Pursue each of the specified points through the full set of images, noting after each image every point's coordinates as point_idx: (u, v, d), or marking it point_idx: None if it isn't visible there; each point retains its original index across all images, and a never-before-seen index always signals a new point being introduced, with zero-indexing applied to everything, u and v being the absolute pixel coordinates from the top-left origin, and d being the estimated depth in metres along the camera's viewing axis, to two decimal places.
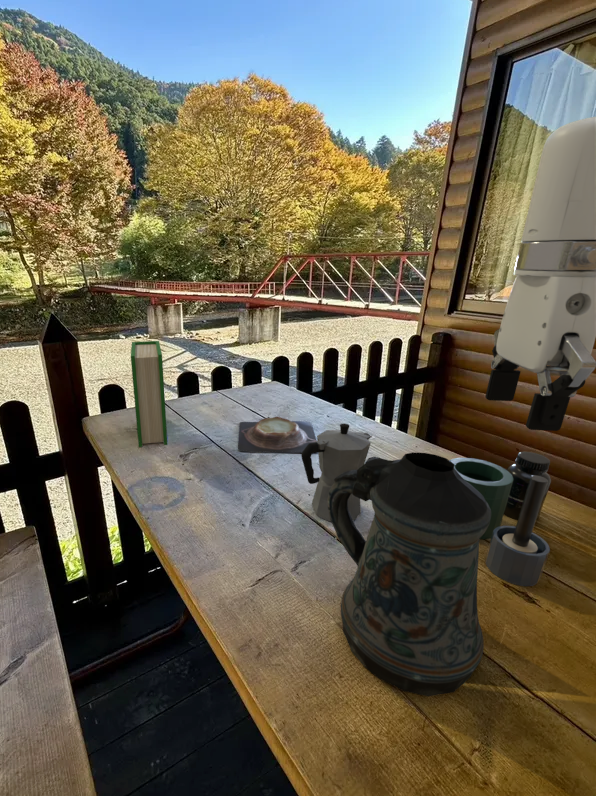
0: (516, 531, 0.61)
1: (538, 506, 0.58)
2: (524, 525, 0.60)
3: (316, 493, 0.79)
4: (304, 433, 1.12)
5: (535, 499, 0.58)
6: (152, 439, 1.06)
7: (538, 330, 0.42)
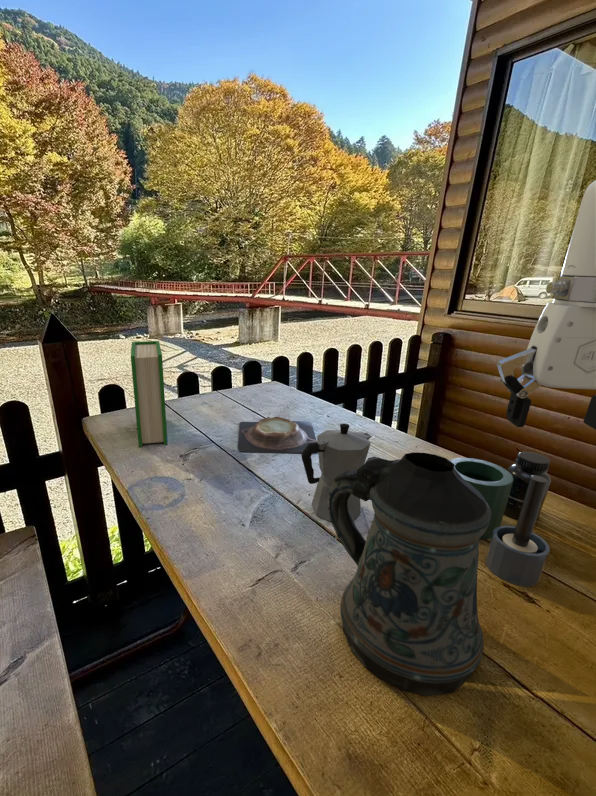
0: (516, 531, 0.61)
1: (538, 506, 0.58)
2: (524, 525, 0.60)
3: (316, 493, 0.79)
4: (304, 433, 1.12)
5: (535, 499, 0.58)
6: (152, 439, 1.06)
7: None
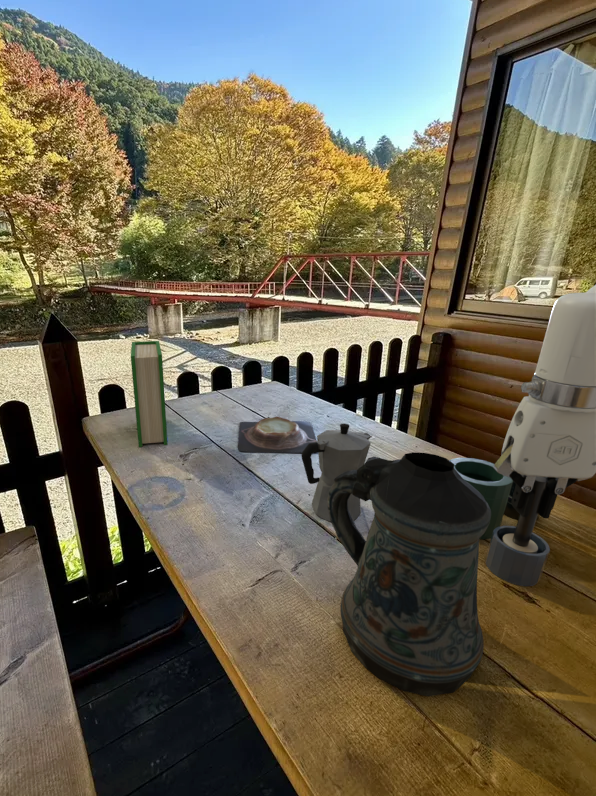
0: (516, 531, 0.61)
1: (538, 506, 0.58)
2: (525, 525, 0.60)
3: (316, 493, 0.79)
4: (304, 433, 1.12)
5: (535, 499, 0.58)
6: (152, 439, 1.06)
7: None
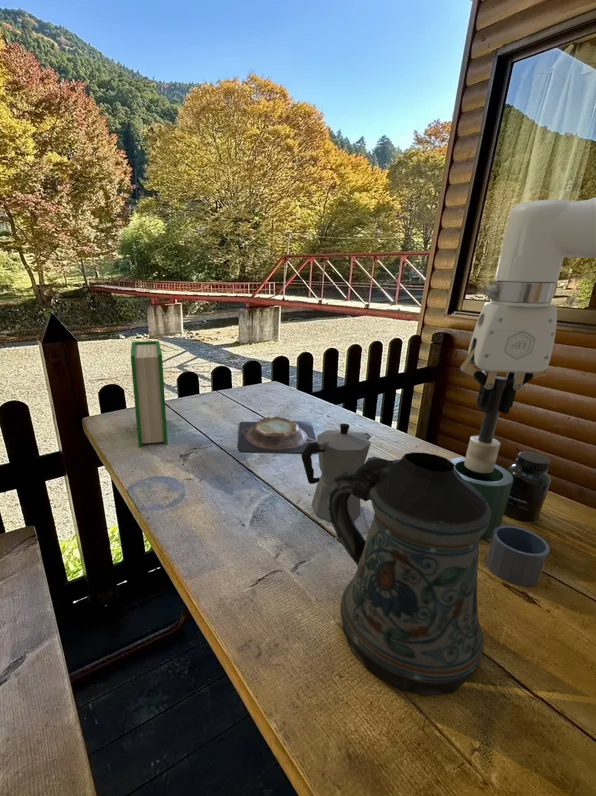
0: (481, 429, 0.68)
1: (499, 403, 0.66)
2: (488, 422, 0.67)
3: (316, 493, 0.79)
4: (304, 433, 1.12)
5: (497, 396, 0.65)
6: (152, 439, 1.06)
7: None
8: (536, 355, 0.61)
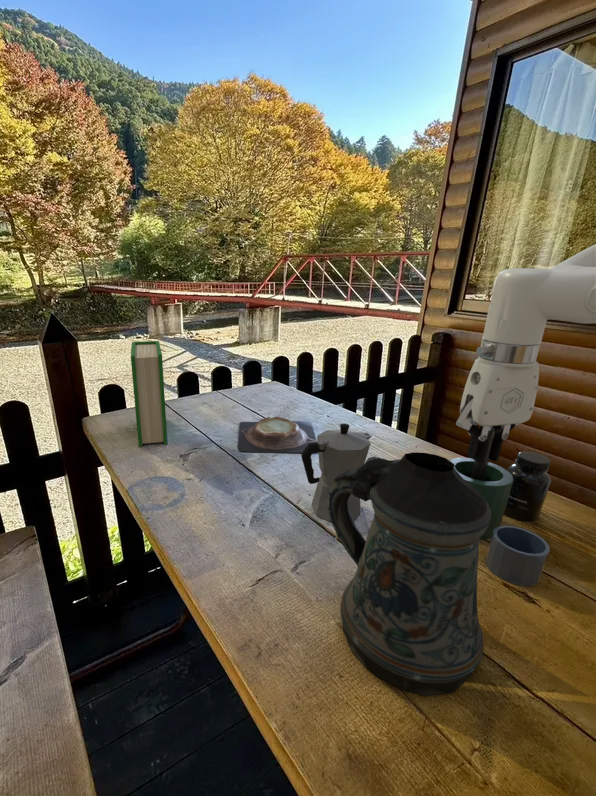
0: (473, 476, 0.71)
1: (490, 451, 0.69)
2: (480, 470, 0.70)
3: (316, 493, 0.79)
4: (304, 433, 1.12)
5: (488, 446, 0.68)
6: (152, 439, 1.06)
7: None
8: (524, 408, 0.65)
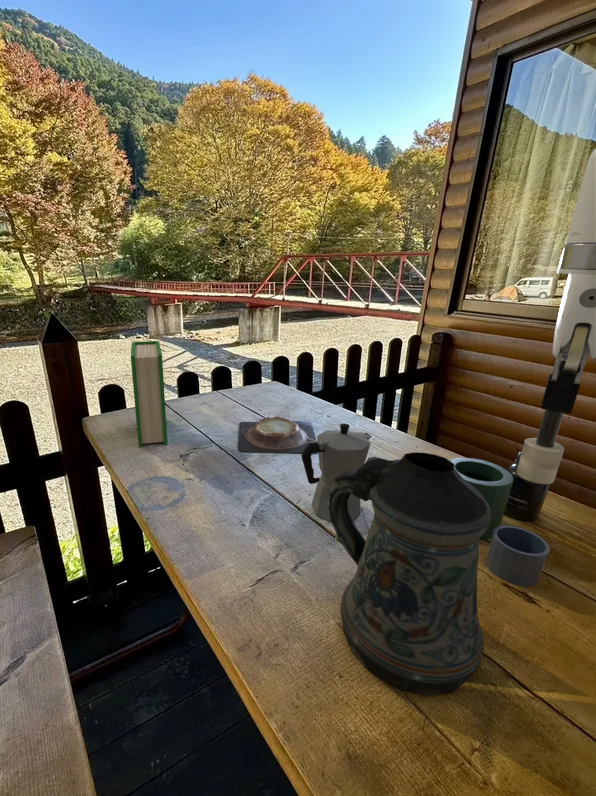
0: (549, 433, 0.55)
1: None
2: (559, 422, 0.54)
3: (316, 493, 0.79)
4: (304, 433, 1.12)
5: None
6: (152, 439, 1.06)
7: (559, 320, 0.49)
8: None
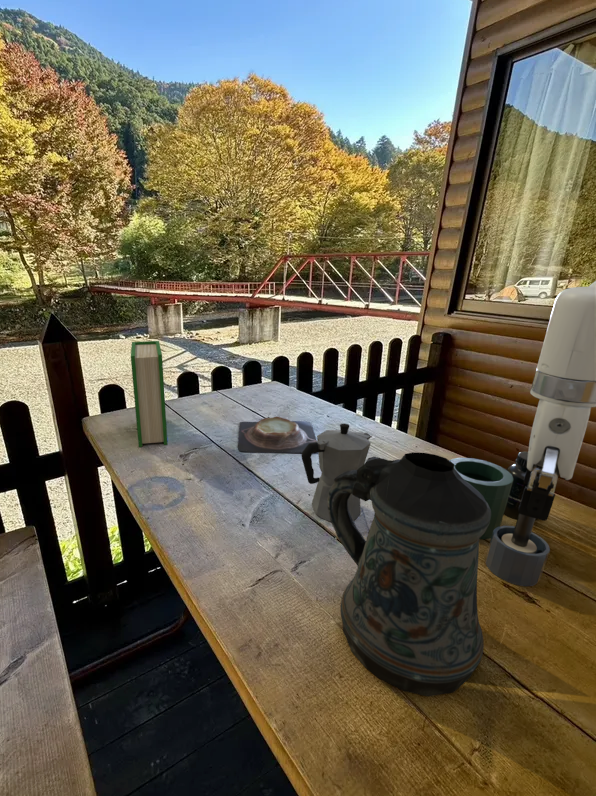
0: (522, 535, 0.60)
1: None
2: (531, 526, 0.59)
3: (316, 493, 0.79)
4: (304, 433, 1.12)
5: None
6: (152, 439, 1.06)
7: (532, 439, 0.54)
8: None
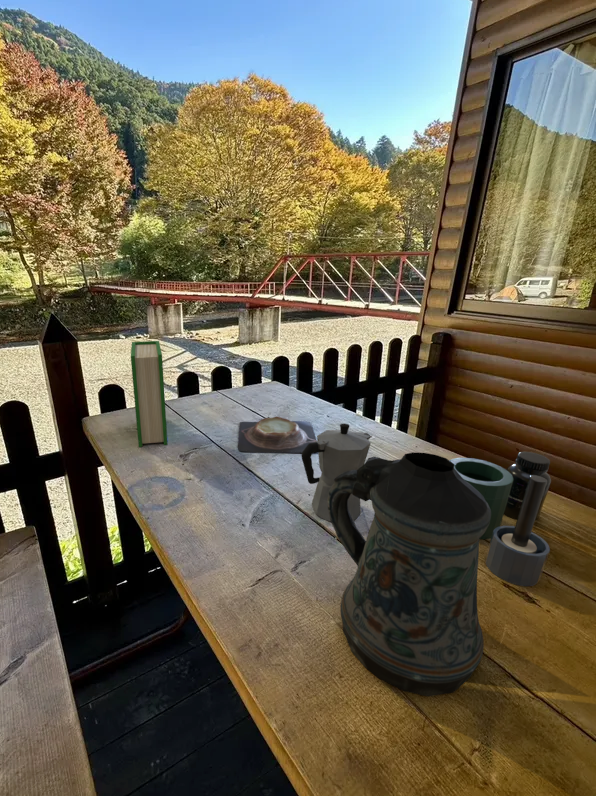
0: (522, 535, 0.60)
1: None
2: (531, 526, 0.59)
3: (316, 493, 0.79)
4: (304, 433, 1.12)
5: (541, 499, 0.58)
6: (152, 439, 1.06)
7: None
8: None
